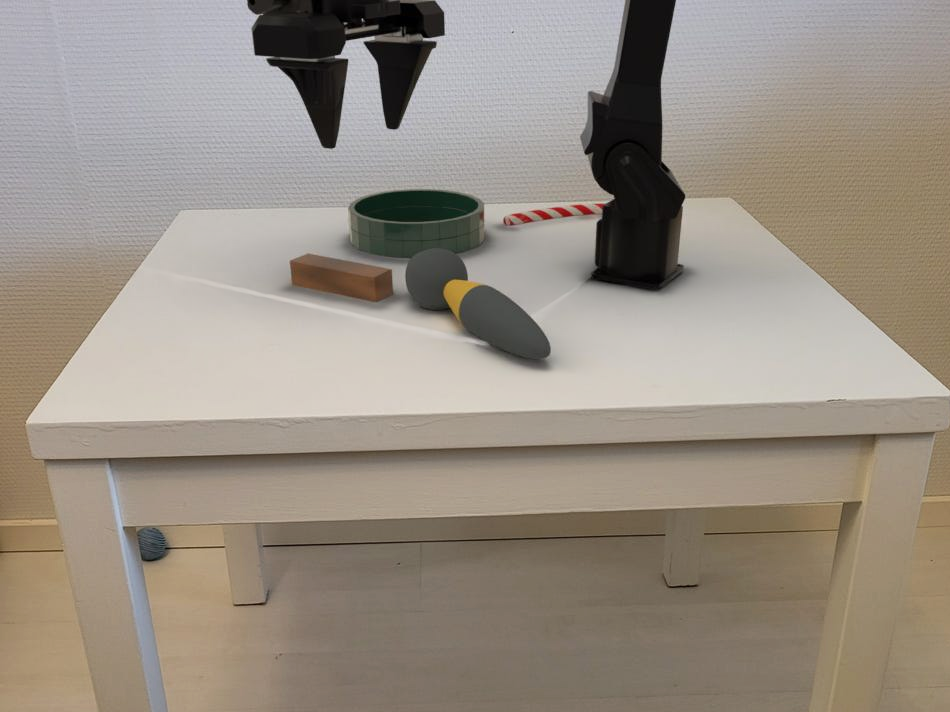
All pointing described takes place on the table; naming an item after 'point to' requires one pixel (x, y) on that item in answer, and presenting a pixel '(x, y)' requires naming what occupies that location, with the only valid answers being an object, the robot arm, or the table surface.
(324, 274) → the block
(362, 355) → the table surface
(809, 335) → the table surface
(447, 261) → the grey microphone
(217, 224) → the table surface
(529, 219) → the candy cane
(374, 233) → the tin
